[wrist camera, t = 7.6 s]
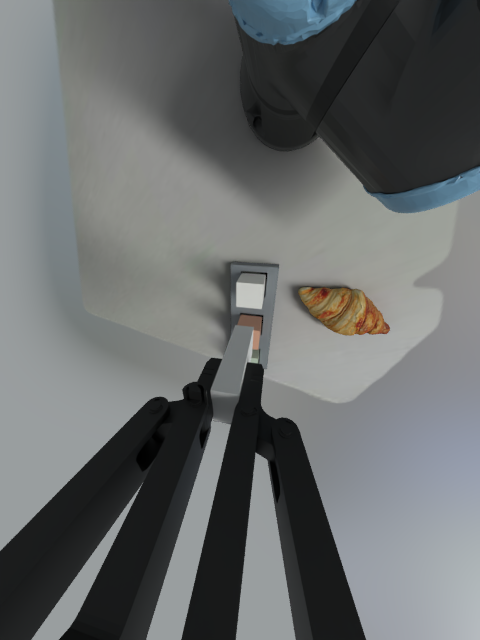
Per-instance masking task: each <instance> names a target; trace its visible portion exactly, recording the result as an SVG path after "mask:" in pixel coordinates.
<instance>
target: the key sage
mask: <svg viewBox="0 0 480 640" xmlns="http://www.w3.org/2000/svg"><path fill="white" fill-rule="evenodd" d="M259 351H260V349H258V350H255V349H252V357H251V363H258V360H259Z"/></svg>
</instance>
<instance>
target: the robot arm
mask: <svg viewBox="0 0 480 640" xmlns="http://www.w3.org/2000/svg"><path fill="white" fill-rule="evenodd" d="M229 5H230V6H232V13H233V14H234V18H235V22H236V26H237V30H238V34H239V38H240V42H241V46H242V50H243V56H242V62H241V71H240V88H241V98H242V103H243V108H244V111H245V114H246V117H247V120H248V122H249V124H250V126H251V128H252V130H253V132H254V133H255V135H256V136H257V137H258V138H259V139H260V140H261V141H262V142H263V143H264V144H265V145H267V146H268V147H270V148H272V149H275V150H279V151H293V150H297V149H300V148H302V147H305V146H307V145H308V144H310V143H312V142H313V141H314V140H316V139H317V138H318V137H320V138H321V139H322V140H323V141H324V142H325V143H326V145H327V146H328V147H329V148H330V149H331V150H332V151H333V152H334V153H335V154H336V155H337V157H338V158H339V159H340V160H341V161H342V162H343V163H344V164H345V165H346V166H347V168H348V169H349V170H350V171H351V172H352V173H353V174H354V175H355V176H356V177H357V179H358V180H359V181H360V182H361V183H362V184H363V187H364V189H365V191H366V192H367V193H368V194H370V195H371V196H374V197H376V198H377V199H378V200H379V201H380V202H381V203H382V204H383V205H384V206H385V207H386V208H388V209H390V210H392V211H394V212H398V213H415V212H421V211H426V210H430V209H433V208H437V207H440V206H443V205H445V204H448V203H451V202H453V201H456V200H458V199H461V198H463V197H465V196H467V195H470V194H472V193H474V192H476V191H478V190H480V0H229ZM253 329H254V327H249V326H240V325H235V327H234V330H233V332H232V335H231V338H230V340H229V343H228V346H227V348H226V351H225V353H224V356H223V359H218V358H211V359H210V360H209V361H207V363H206V365H205V367H204V369H203V371H202V374H201V375H200V377H199V379H198V381H197V382H192V383H189V384H187V385H186V386H185V387H184V388H183V395H184V399H183V400H179V401H172V402H168V400H167V399H166V398H164V397H155V398H153V399H151V400H149V401H148V402H147V403H146V404H145V405H144V406H143V407H142V408H141V409H140V410H139V411H138V412H137V413H136V414H135V415H134V416H133V417H132V418H131V419H130V420H129V421H128V422H127V423H126V424H125V425H124V426H123V427H122V428H121V429H120V430H119V431H118V432H117V433H116V434H115V435H114V436H113V437H112V438H111V439H110V440H109V441H108V442H107V443H106V444H105V445H104V446H103V447H102V448H101V449H100V450H99V452H98V453H96V455H94V457H93V458H92V459H91V460H90V461H89V462H88V463H87V464H86V465H85V466H84V467H83V468H82V469H81V470H80V471H79V472H78V473H77V474H76V475H75V476H74V477H73V478H72V479H71V480H70V481H69V482H68V483H67V484H66V485H65V486H64V487H63V488H62V489H61V490H60V491H59V492H58V493H57V494H56V495H55V496H54V497H53V498H52V499H51V500H50V501H49V502H48V503H47V504H46V505H45V506H44V507H43V508H42V509H41V510H40V511H39V512H38V513H37V514H36V515H35V516H34V517H33V518H32V520H31V521H30V522H29V523H28V524H27V525H26V526H25V527H24V528H23V529H22V530H21V531H20V532H19V533H18V534H17V535H16V536H15V537H14V538H13V539H12V540H11V541H10V542H9V543H8V544H7V545H6V546H5V547H4V548H3V549H2V550H1V551H0V640H31V639H32V638H33V636H34V635H35V633H36V632H37V631H38V629H39V628H40V626H41V625H42V623H43V622H44V621H45V619H46V618H47V617H48V615H49V614H50V612H51V611H52V609H53V608H54V607H55V605H56V604H57V603H58V601H59V600H60V598H61V597H62V595H63V594H64V593H65V591H66V590H67V588H68V587H69V586H70V584H71V583H72V581H73V580H74V579H75V577H76V576H77V574H78V573H79V572H80V570H81V569H82V567H83V566H84V565H85V563H86V562H87V560H88V559H89V558H90V556H91V555H92V553H93V552H94V551H95V549H96V548H97V546H98V545H99V543H100V542H101V541H102V539H103V538H104V537H105V535H106V534H107V532H108V531H109V530H110V528H111V527H112V525H113V524H114V522H115V521H116V519H117V518H118V517H119V515H120V514H121V513H122V511H123V510H124V508H125V507H126V506H127V504H128V503H129V501H130V500H131V499H132V497H133V496H134V494H135V493H136V492H137V490H138V489H139V487H140V486H141V485H142V486H141V488H140V490H139V492H138V494H137V496H136V498H135V500H134V503H133V504H132V506H131V508H130V510H129V513H128V514H127V516H126V519H125V521H124V523H123V525H122V527H121V529H120V531H119V533H118V535H117V537H116V539H115V541H114V543H113V545H112V547H111V549H110V551H109V553H108V555H107V557H106V559H105V561H104V563H103V565H102V567H101V569H100V571H99V573H98V575H97V577H96V579H95V582H94V583H93V585H92V587H91V589H90V591H89V593H88V595H87V597H86V599H85V601H84V603H83V606H82V607H81V610H80V612H79V613H78V615H77V617H76V619H75V620H74V622H73V623H72V625H71V627H70V628H69V629H68V630H67V631H66V632H65V633H64V635H63V636H62V637H61V638H60V639H59V640H146V638H147V634H148V631H149V627H150V624H151V621H152V618H153V615H154V611H155V608H156V605H157V601H158V598H159V595H160V592H161V589H162V586H163V582H164V579H165V576H166V573H167V569H168V566H169V563H170V560H171V557H172V553H173V550H174V547H175V544H176V540H177V537H178V534H179V531H180V527H181V524H182V521H183V518H184V515H185V511H186V508H187V505H188V502H189V499H190V495H191V492H192V489H193V486H194V482H195V479H196V476H197V473H198V469H199V466H200V463H201V460H202V456H203V453H204V450H205V447H206V444H207V440H208V437H209V434H210V430H211V421H212V418H213V421H216V422H222V423H227V424H231V427H230V431H229V436H228V440H227V444H226V449H225V453H224V458H223V462H222V466H221V470H220V475H219V479H218V483H217V488H216V492H215V496H214V501H213V505H212V509H211V514H210V518H209V522H208V527H207V531H206V535H205V540H204V544H203V548H202V553H201V557H200V561H199V566H198V570H197V574H196V578H195V583H194V587H193V592H192V596H191V600H190V604H189V609H188V613H187V617H186V622H185V626H184V631H183V635H182V639H181V640H236V632H237V622H238V612H239V603H240V593H241V584H242V574H243V565H244V556H245V546H246V537H247V528H248V518H249V508H250V499H251V490H252V480H253V470H254V462H255V452H256V453H258V454H259V455H261V456H262V457H264V458H266V459H267V460H268V466H269V472H270V479H271V485H272V492H273V497H274V504H275V511H276V517H277V523H278V529H279V536H280V541H281V549H282V554H283V561H284V567H285V574H286V580H287V587H288V592H289V599H290V606H291V611H292V617H293V624H294V630H295V637H296V640H366V638H365V635H364V632H363V629H362V626H361V622H360V619H359V616H358V613H357V610H356V607H355V604H354V601H353V597H352V594H351V591H350V588H349V585H348V582H347V579H346V575H345V572H344V569H343V566H342V563H341V560H340V557H339V554H338V551H337V547H336V544H335V541H334V538H333V535H332V532H331V529H330V525H329V522H328V519H327V516H326V513H325V510H324V507H323V504H322V500H321V497H320V494H319V491H318V488H317V485H316V482H315V479H314V475H313V472H312V469H311V466H310V463H309V460H308V457H307V453H306V450H305V447H304V444H303V441H302V438H301V435H300V431H299V429H298V427H297V425H296V424H295V423H294V422H293V421H292V420H290V419H288V418H278V419H275V418H273V417H271V416H269V415H268V414H266V413H265V412H264V411H263V409H262V407H261V393H262V384H263V375H264V369H263V366H262V364H258V363H251V357H252V347H253ZM142 483H143V484H142Z"/></svg>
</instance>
